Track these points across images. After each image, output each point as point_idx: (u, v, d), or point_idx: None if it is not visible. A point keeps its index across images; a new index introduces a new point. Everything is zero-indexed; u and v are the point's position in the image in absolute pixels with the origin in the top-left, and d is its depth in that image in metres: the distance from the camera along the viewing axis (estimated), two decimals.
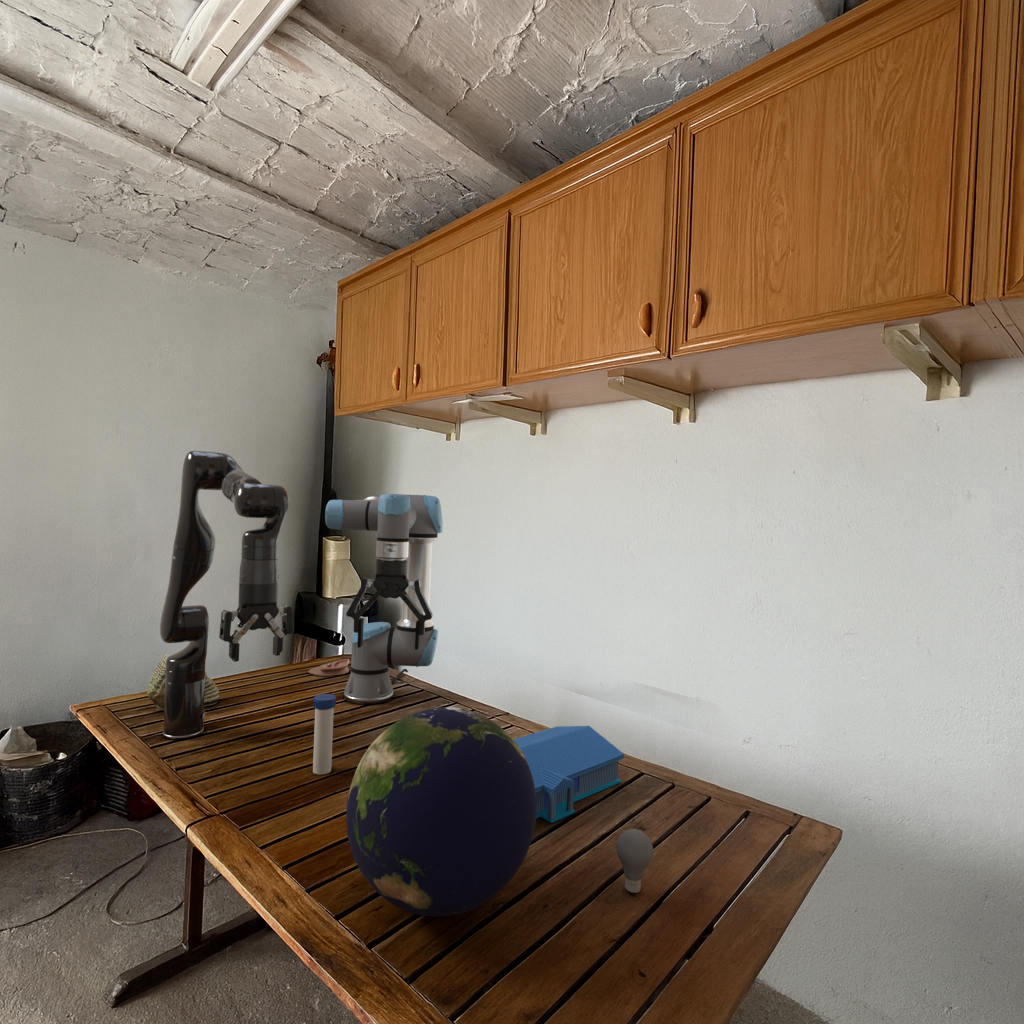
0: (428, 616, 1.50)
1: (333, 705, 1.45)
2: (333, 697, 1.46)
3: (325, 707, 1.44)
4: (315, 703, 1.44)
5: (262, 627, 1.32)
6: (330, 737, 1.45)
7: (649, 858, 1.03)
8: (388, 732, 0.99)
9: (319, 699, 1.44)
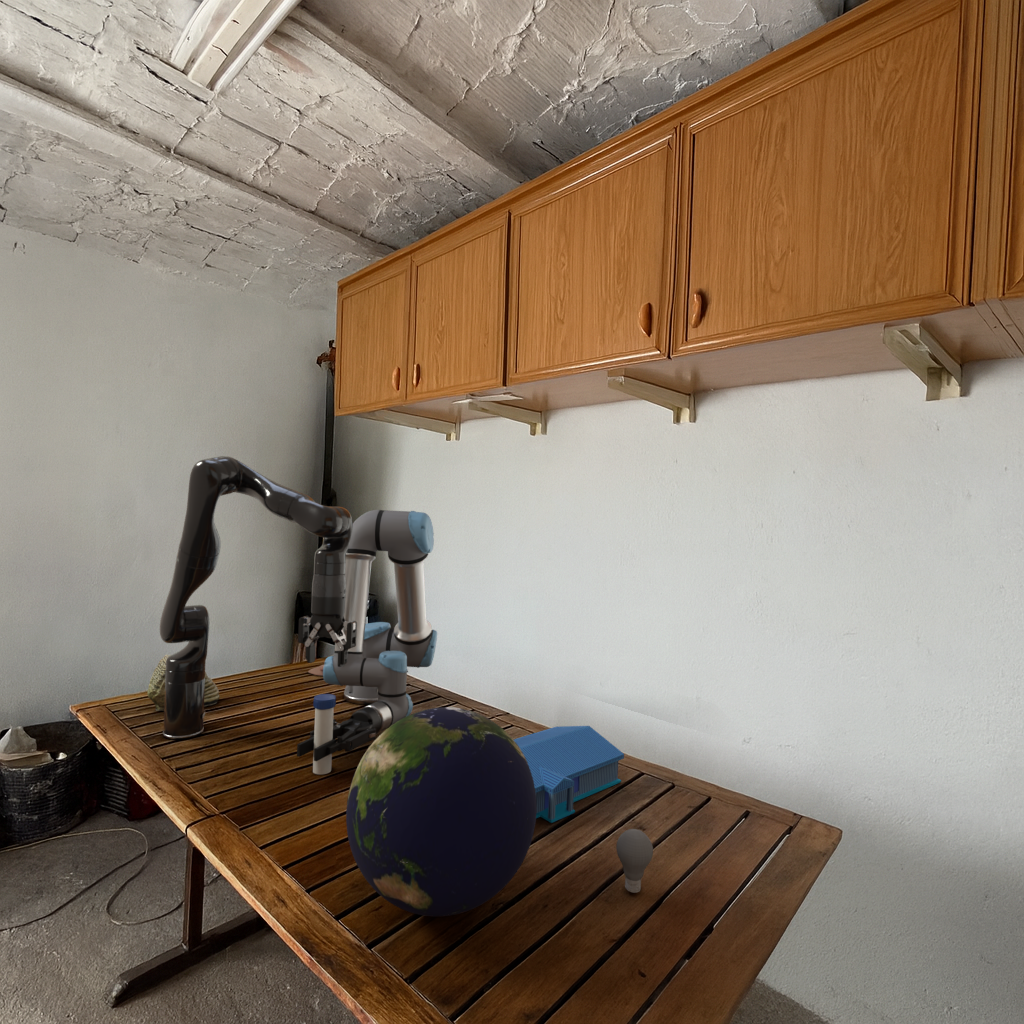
0: None
1: (333, 705, 1.45)
2: (333, 697, 1.46)
3: (325, 707, 1.44)
4: (315, 703, 1.44)
5: None
6: (330, 737, 1.45)
7: (649, 858, 1.03)
8: (388, 732, 0.99)
9: (319, 699, 1.44)
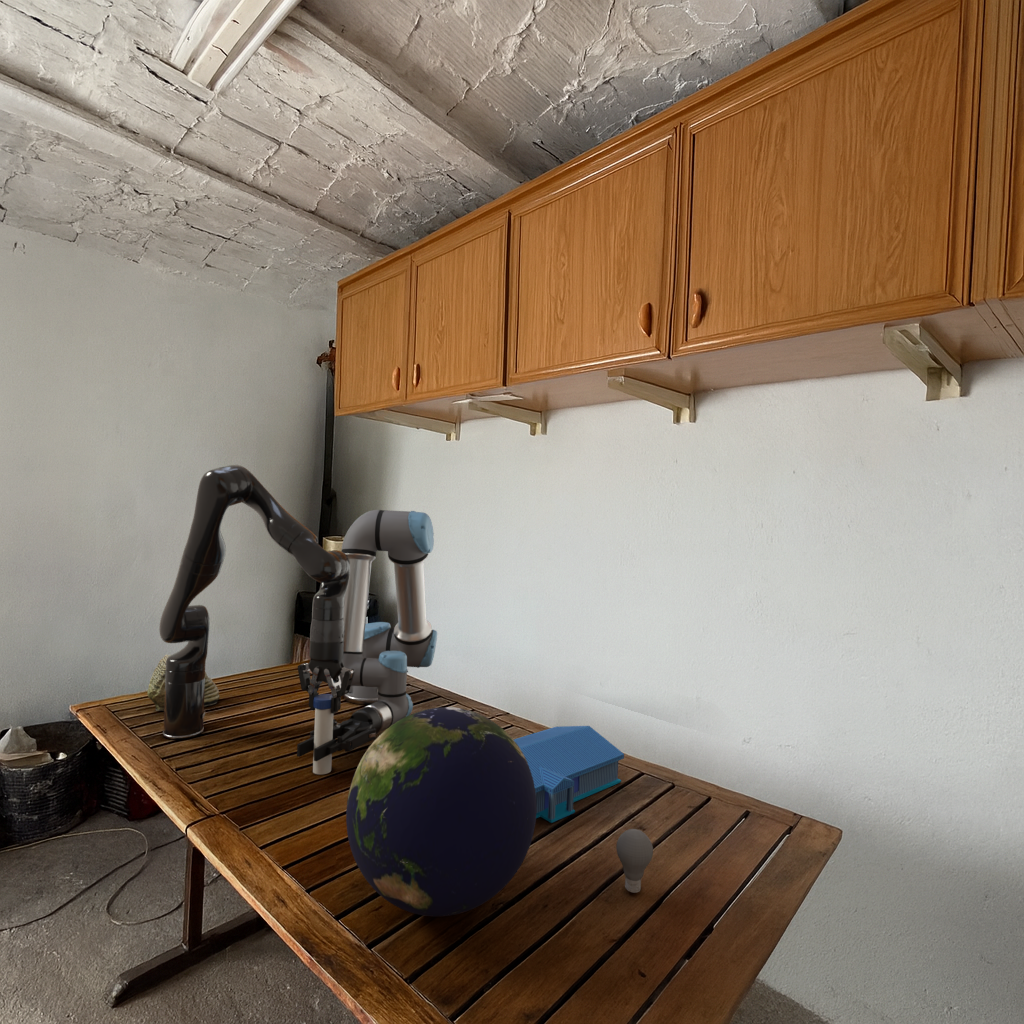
0: None
1: None
2: None
3: (325, 707, 1.44)
4: (315, 703, 1.44)
5: None
6: (330, 737, 1.45)
7: (649, 858, 1.03)
8: (388, 732, 0.99)
9: (319, 699, 1.44)
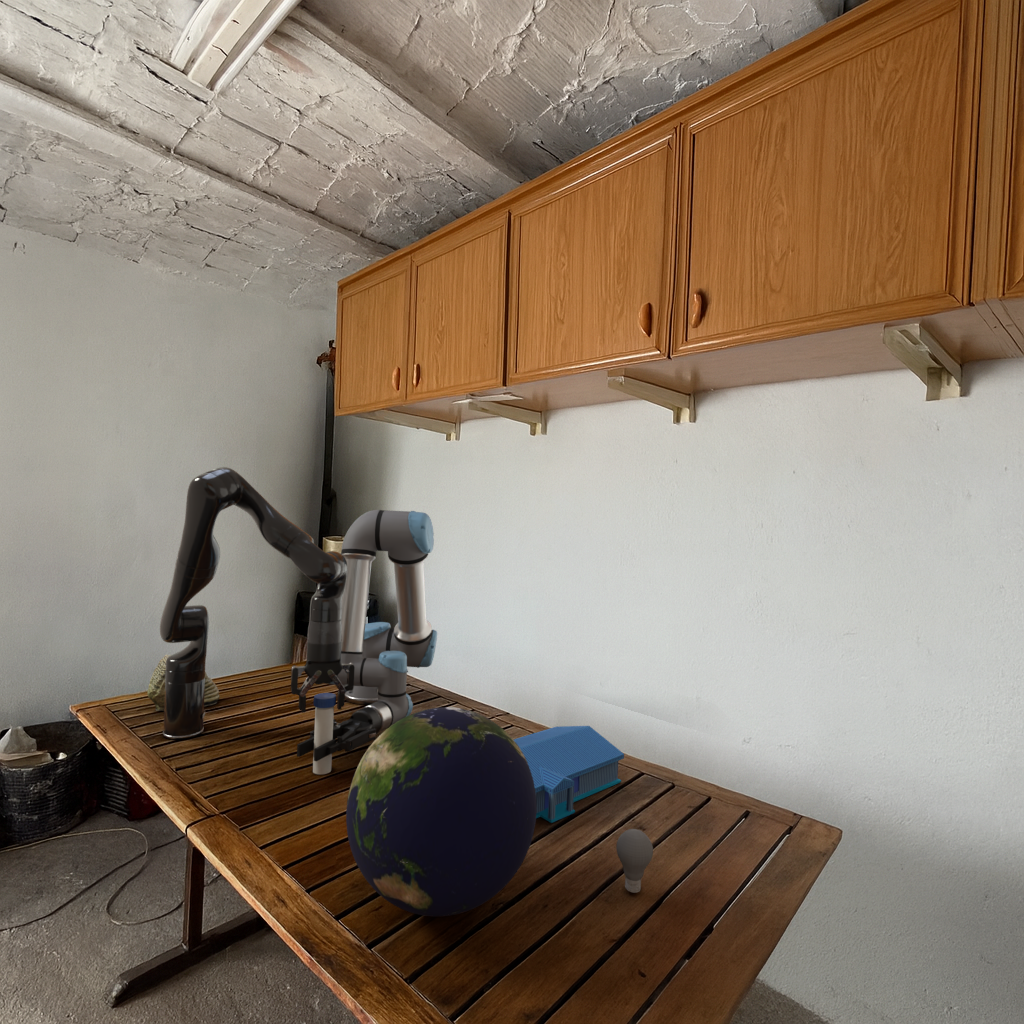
0: None
1: None
2: (330, 693, 1.48)
3: (335, 703, 1.46)
4: (327, 703, 1.44)
5: None
6: (330, 737, 1.45)
7: (649, 858, 1.03)
8: (388, 732, 0.99)
9: (329, 698, 1.45)
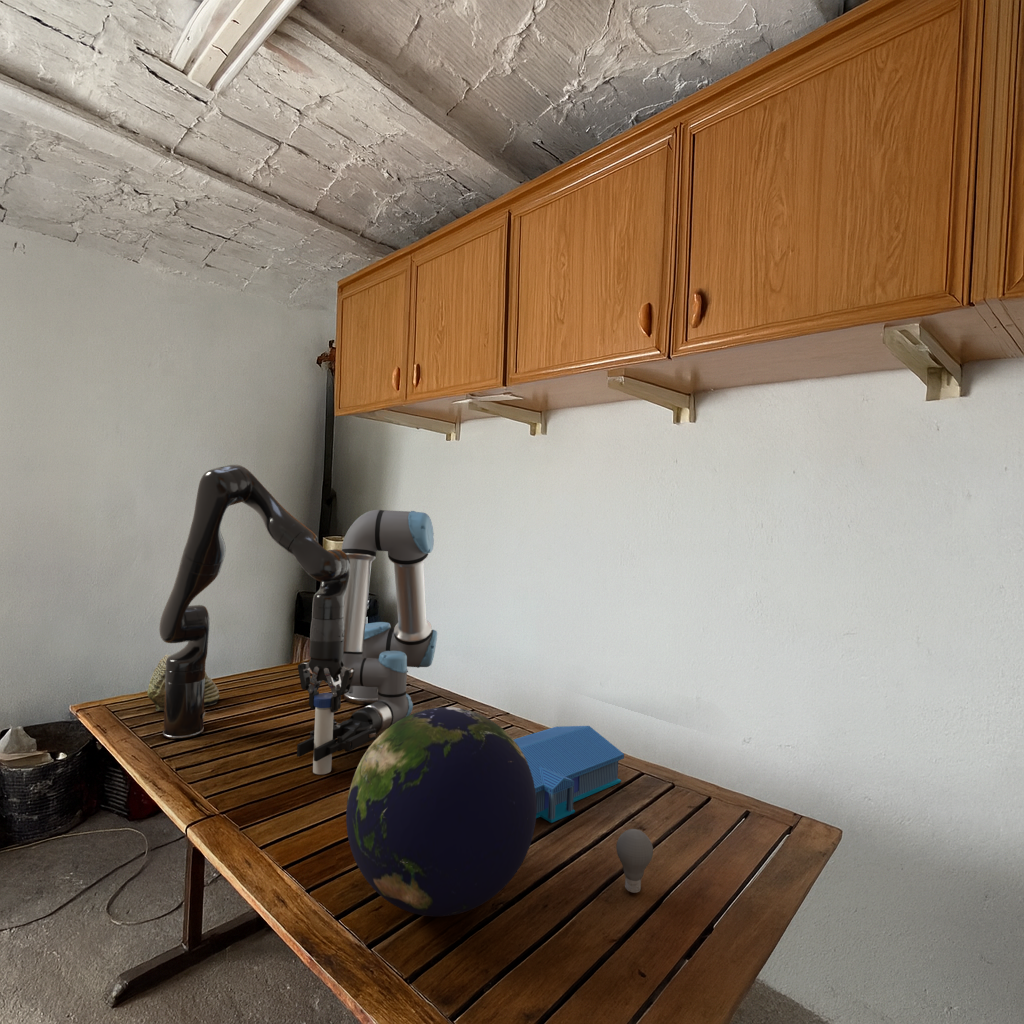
0: None
1: None
2: (330, 693, 1.48)
3: None
4: (327, 703, 1.44)
5: None
6: (330, 737, 1.45)
7: (649, 858, 1.03)
8: (388, 732, 0.99)
9: (329, 698, 1.45)
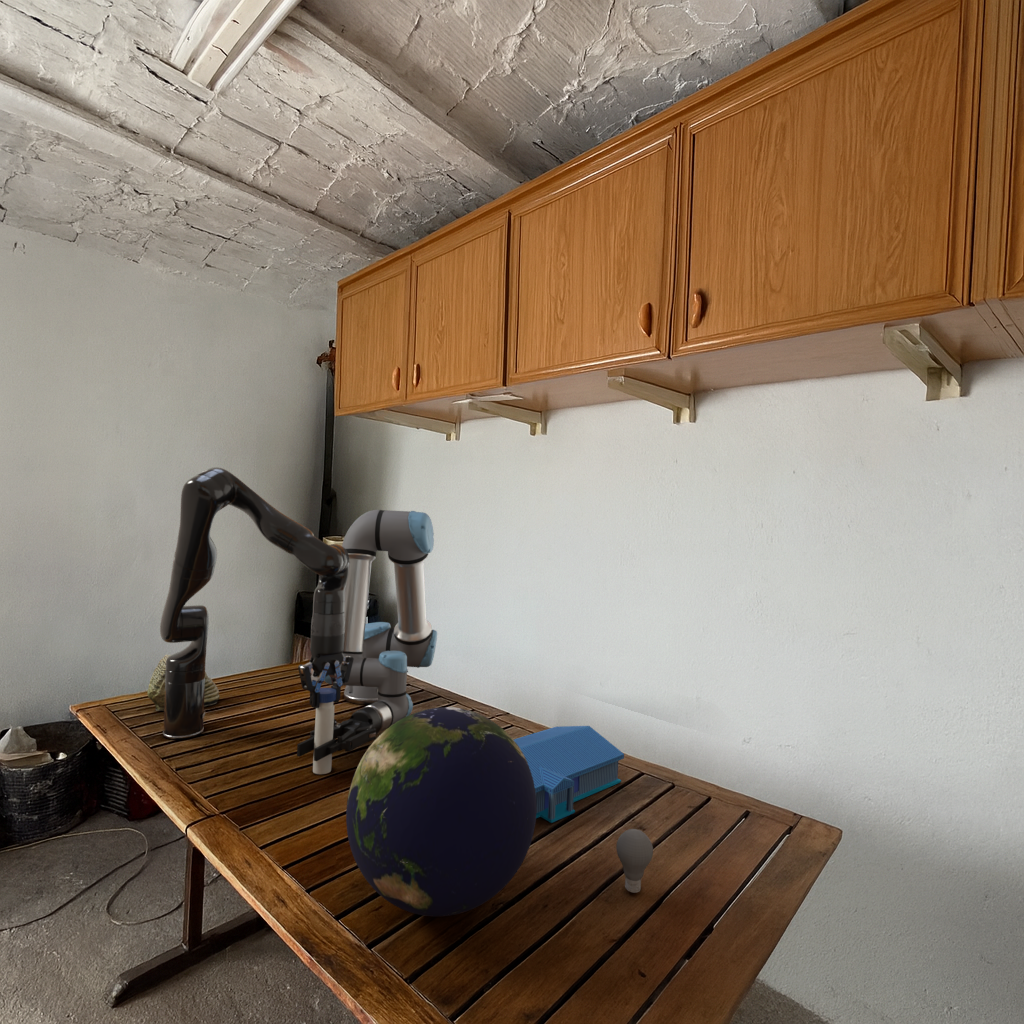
0: None
1: None
2: (320, 688, 1.47)
3: None
4: None
5: None
6: (330, 737, 1.45)
7: (649, 858, 1.03)
8: (388, 732, 0.99)
9: (333, 690, 1.47)
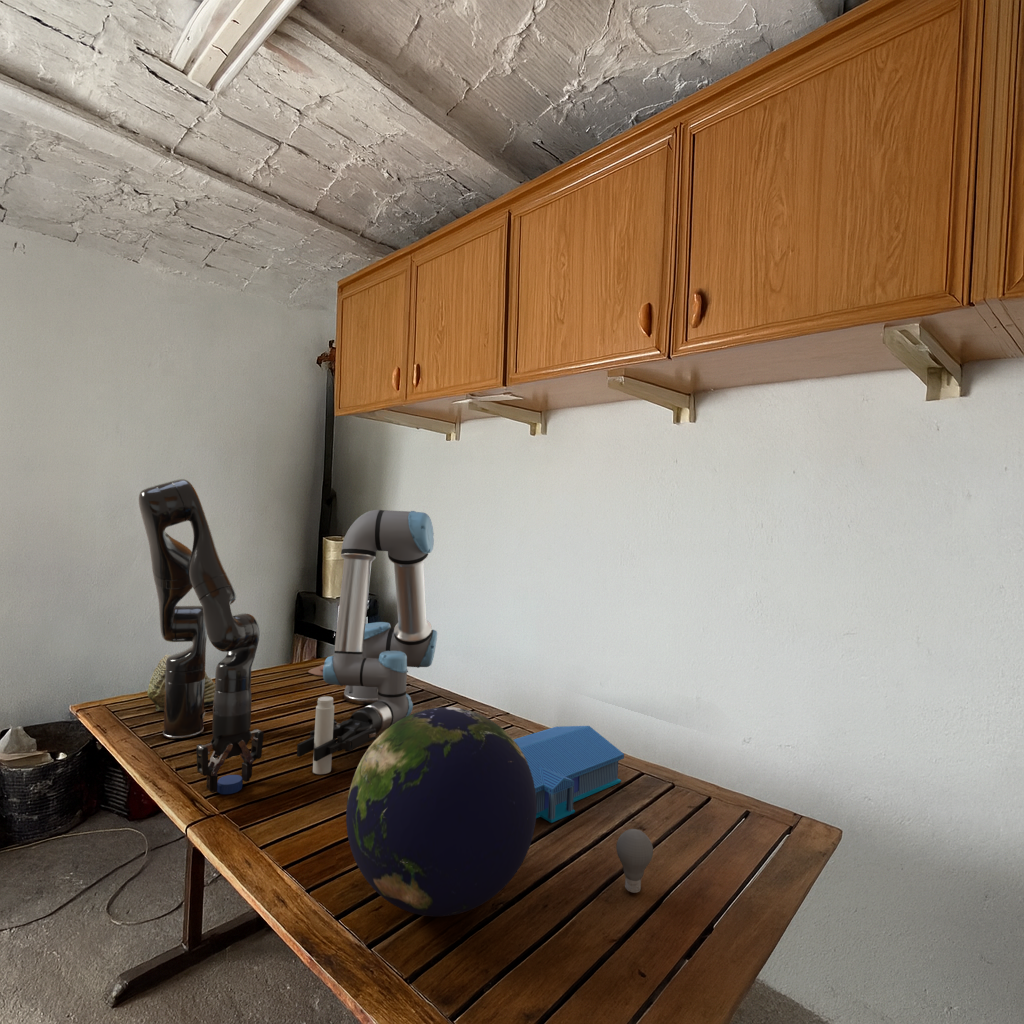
0: None
1: None
2: (226, 776, 1.37)
3: None
4: (241, 783, 1.36)
5: None
6: (330, 737, 1.45)
7: (649, 858, 1.03)
8: (388, 732, 0.99)
9: (239, 778, 1.36)
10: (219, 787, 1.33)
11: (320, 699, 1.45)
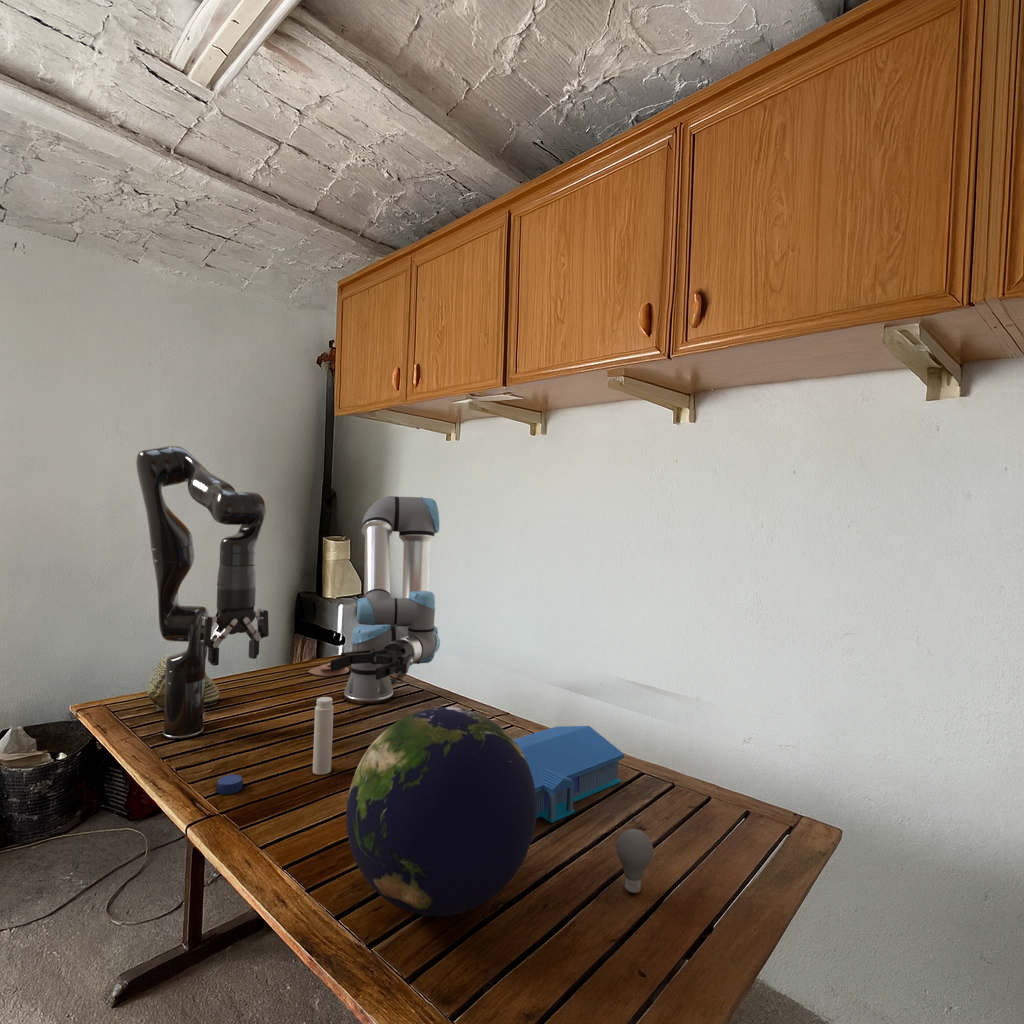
0: None
1: None
2: (226, 776, 1.37)
3: None
4: (241, 783, 1.36)
5: None
6: (330, 737, 1.45)
7: (649, 858, 1.03)
8: (388, 732, 0.99)
9: (239, 778, 1.36)
10: (219, 787, 1.33)
11: (319, 700, 1.45)
